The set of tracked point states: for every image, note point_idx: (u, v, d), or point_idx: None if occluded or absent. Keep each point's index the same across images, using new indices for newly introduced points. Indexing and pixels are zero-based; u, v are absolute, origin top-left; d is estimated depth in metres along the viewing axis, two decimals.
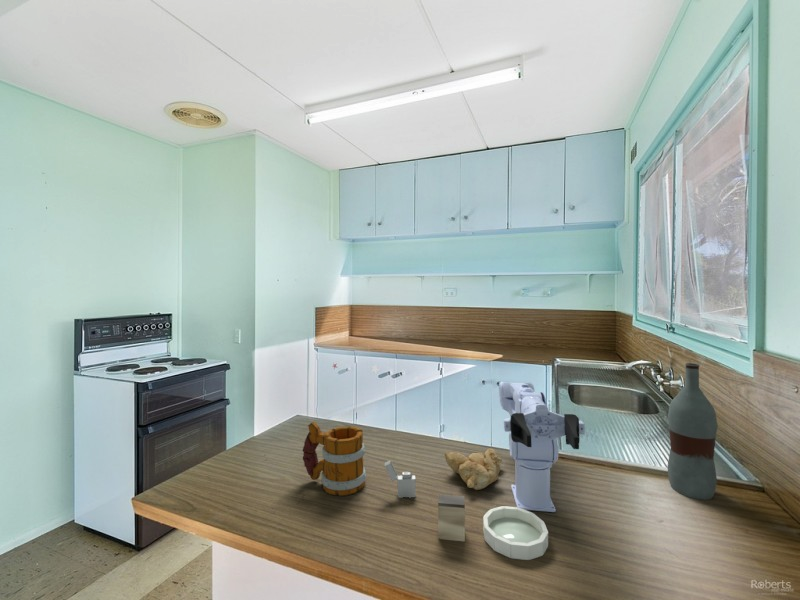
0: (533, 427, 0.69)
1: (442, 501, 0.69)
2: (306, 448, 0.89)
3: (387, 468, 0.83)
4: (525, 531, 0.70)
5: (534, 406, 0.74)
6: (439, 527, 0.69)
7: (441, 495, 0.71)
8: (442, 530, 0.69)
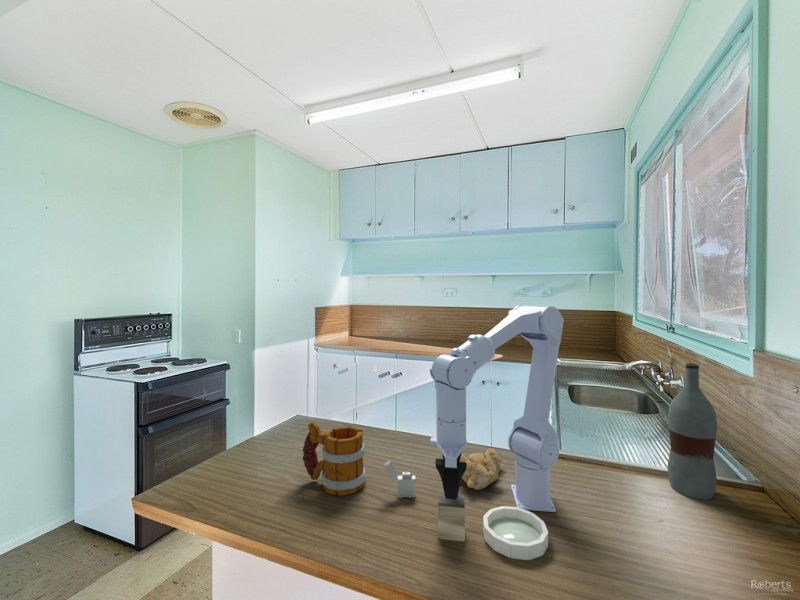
0: None
1: (442, 501, 0.69)
2: (306, 448, 0.89)
3: (387, 468, 0.83)
4: (525, 531, 0.70)
5: None
6: (439, 527, 0.69)
7: (441, 495, 0.71)
8: (442, 530, 0.69)
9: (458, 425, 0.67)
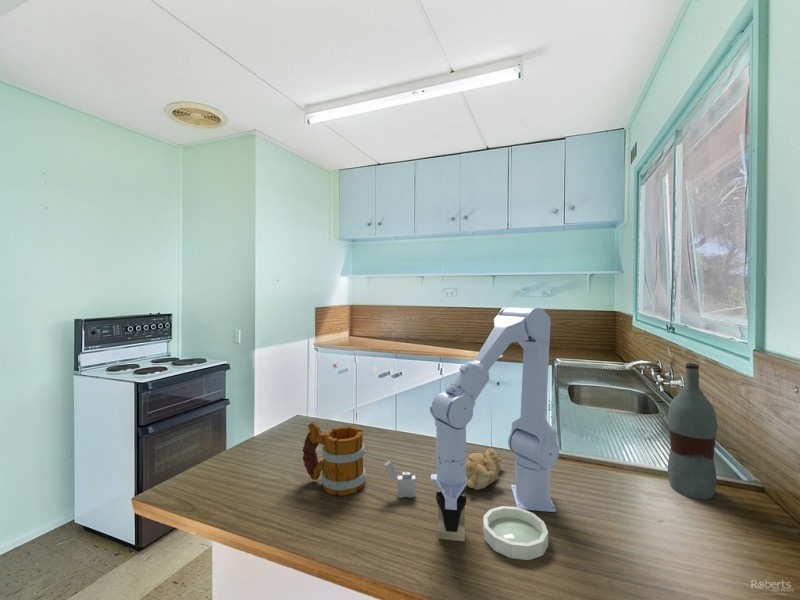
0: None
1: None
2: (306, 448, 0.89)
3: (387, 468, 0.83)
4: (525, 531, 0.70)
5: None
6: (439, 527, 0.69)
7: None
8: (442, 530, 0.69)
9: (458, 464, 0.67)
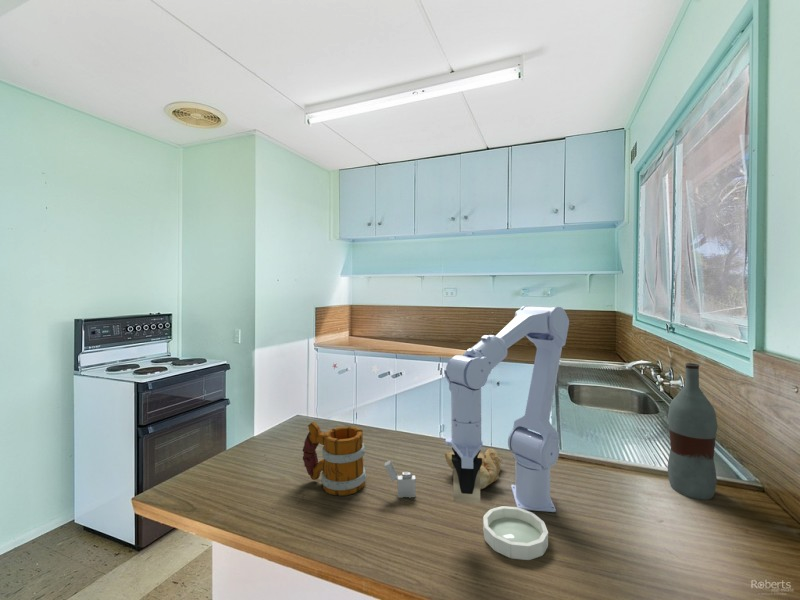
0: None
1: None
2: (306, 448, 0.89)
3: (387, 468, 0.83)
4: (525, 531, 0.70)
5: None
6: (454, 489, 0.69)
7: None
8: (457, 492, 0.69)
9: (474, 426, 0.67)
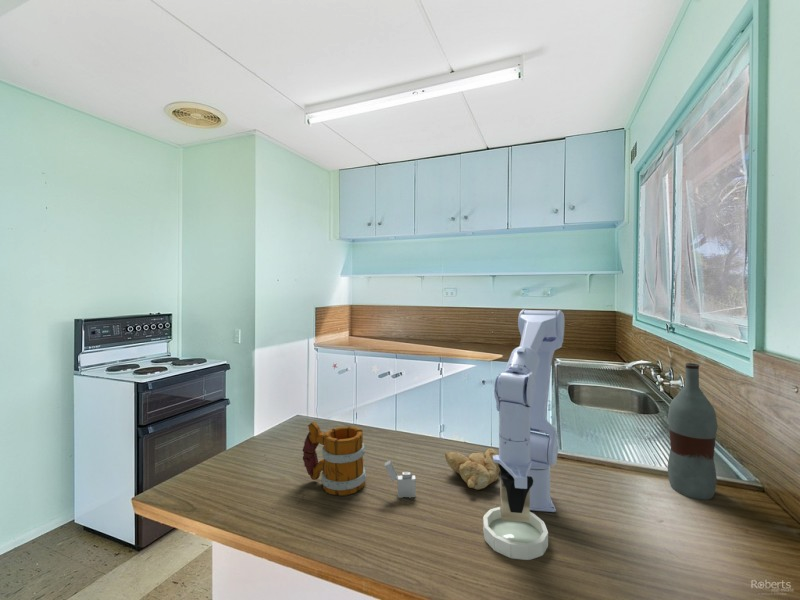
0: None
1: None
2: (306, 448, 0.89)
3: (387, 468, 0.83)
4: (525, 531, 0.70)
5: None
6: (503, 508, 0.68)
7: None
8: (506, 511, 0.68)
9: (524, 444, 0.66)
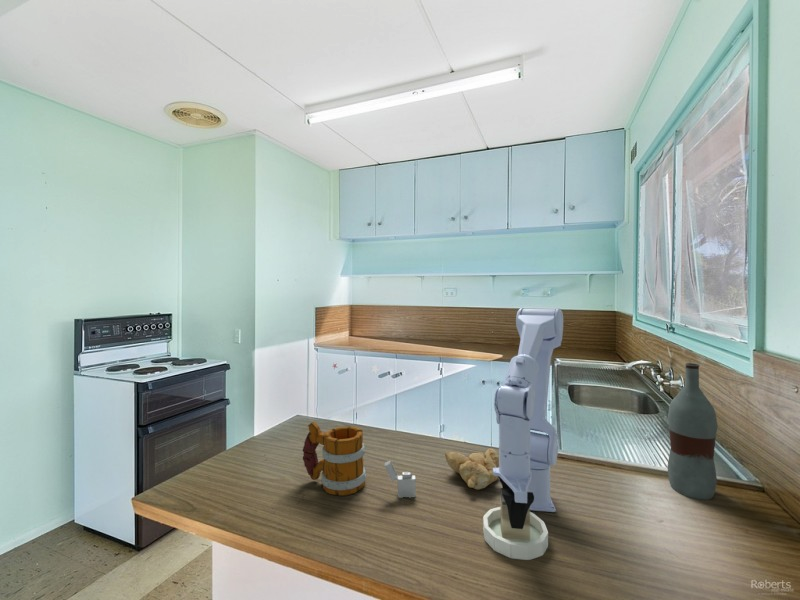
0: None
1: None
2: (306, 448, 0.89)
3: (387, 468, 0.83)
4: None
5: None
6: (503, 526, 0.68)
7: None
8: (506, 529, 0.68)
9: (524, 457, 0.66)
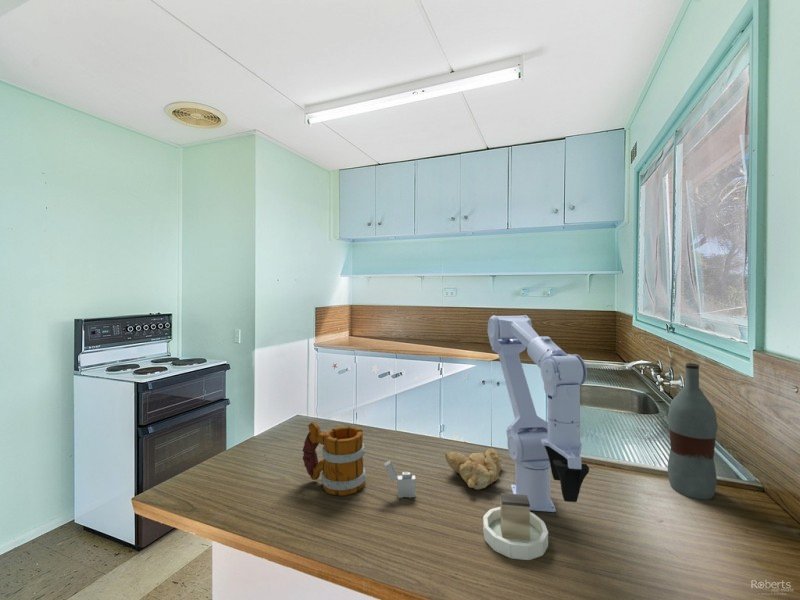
0: None
1: (506, 500, 0.68)
2: (306, 448, 0.89)
3: (387, 468, 0.83)
4: None
5: None
6: (503, 526, 0.68)
7: (503, 494, 0.70)
8: (506, 529, 0.68)
9: (575, 426, 0.66)
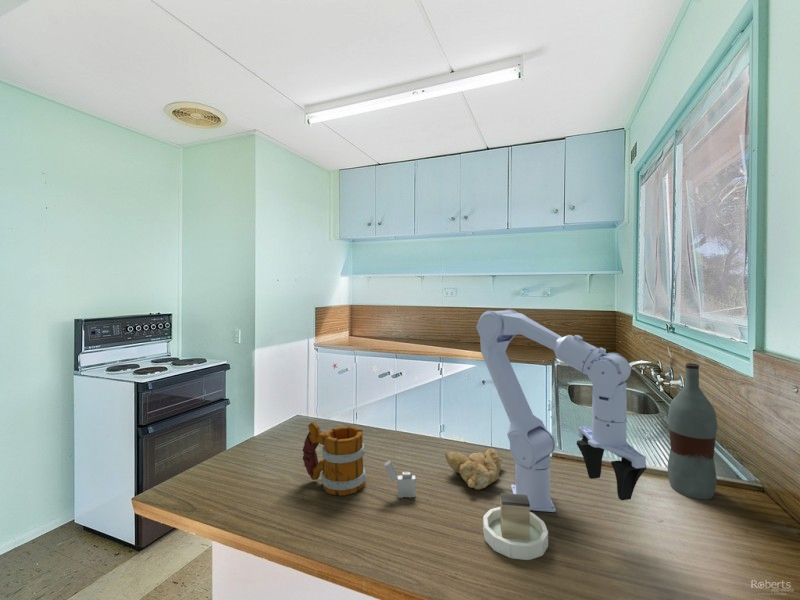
0: None
1: (506, 500, 0.68)
2: (306, 448, 0.89)
3: (387, 468, 0.83)
4: None
5: (593, 425, 0.69)
6: (503, 526, 0.68)
7: (503, 494, 0.70)
8: (506, 529, 0.68)
9: (625, 424, 0.67)
